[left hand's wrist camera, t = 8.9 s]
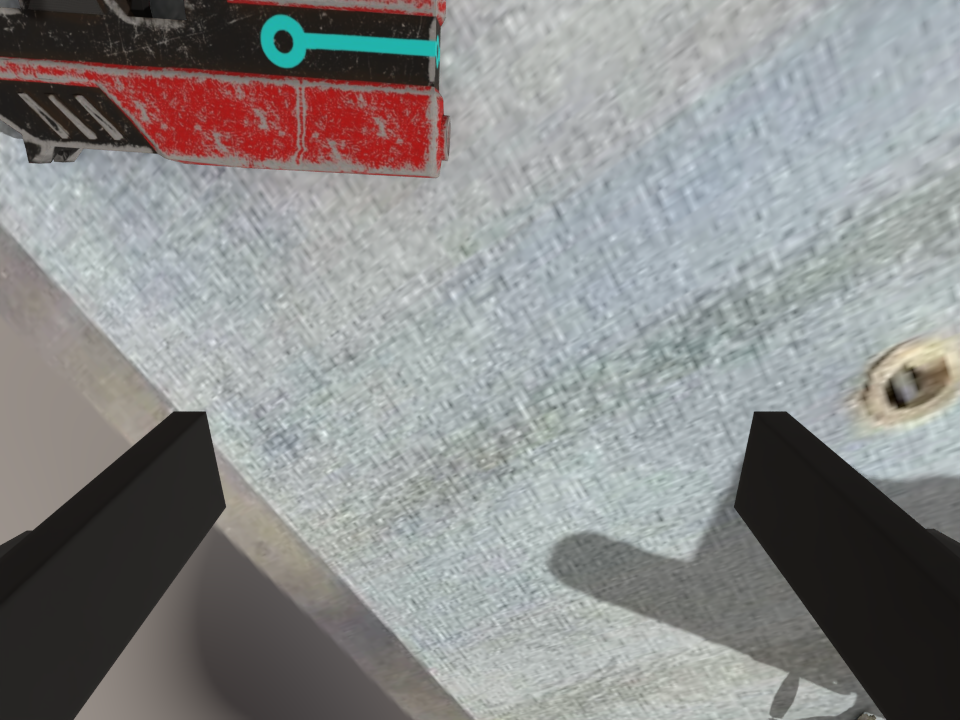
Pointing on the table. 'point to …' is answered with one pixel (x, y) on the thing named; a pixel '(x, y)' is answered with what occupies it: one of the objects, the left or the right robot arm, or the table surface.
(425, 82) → the gun
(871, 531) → the left robot arm
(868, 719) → the bow
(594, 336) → the table surface
